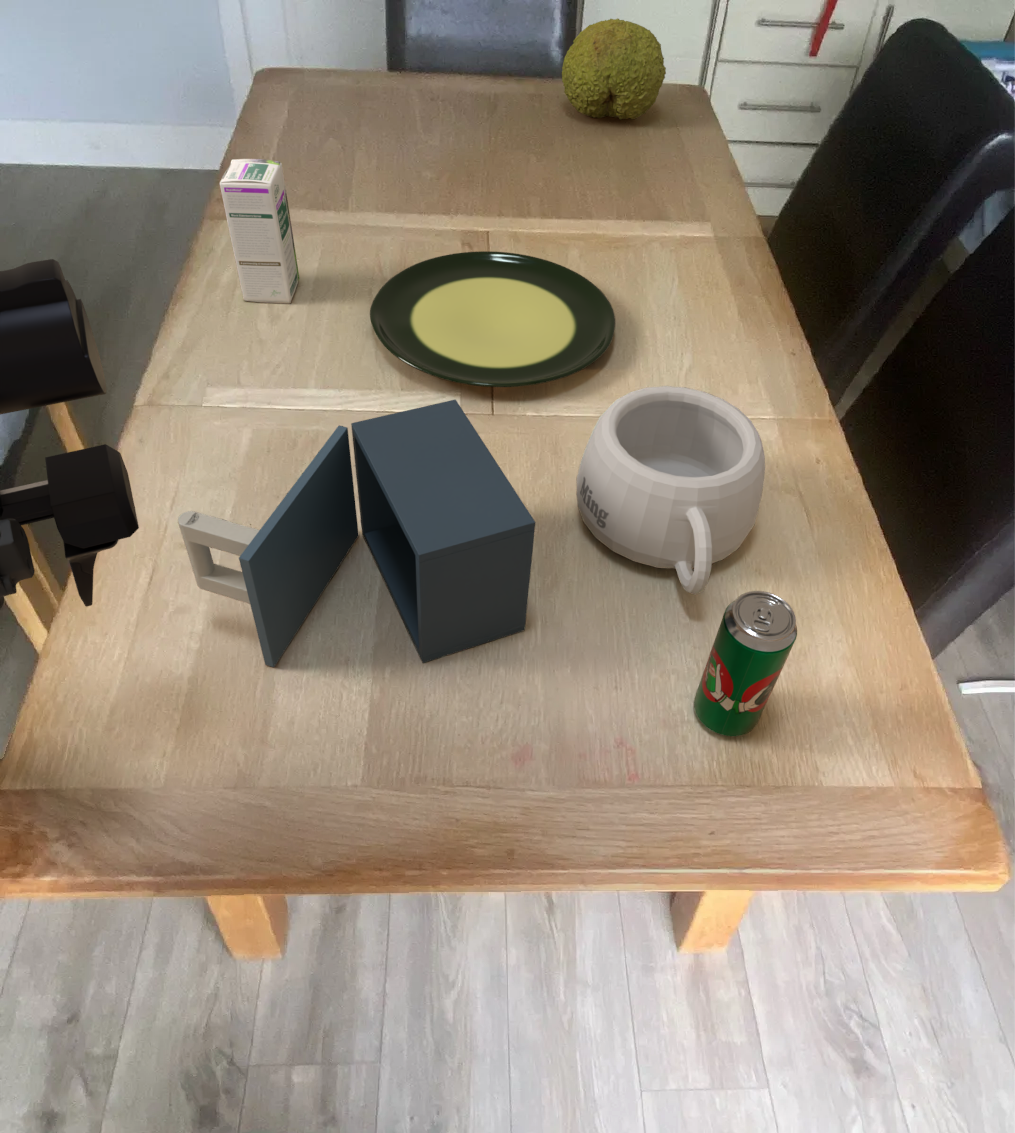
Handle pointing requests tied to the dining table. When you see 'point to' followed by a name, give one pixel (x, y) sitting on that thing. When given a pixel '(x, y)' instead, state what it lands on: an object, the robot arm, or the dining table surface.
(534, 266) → the plate
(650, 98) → the fruit
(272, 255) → the syrup box
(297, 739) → the dining table surface
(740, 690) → the soda can
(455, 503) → the cabinet
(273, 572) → the cabinet door
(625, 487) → the mug
